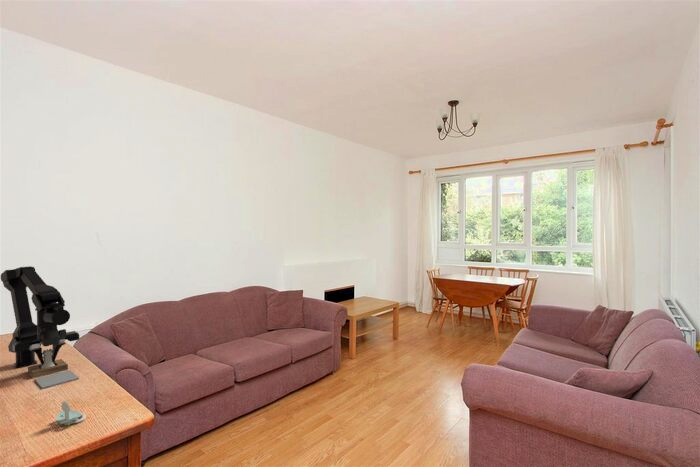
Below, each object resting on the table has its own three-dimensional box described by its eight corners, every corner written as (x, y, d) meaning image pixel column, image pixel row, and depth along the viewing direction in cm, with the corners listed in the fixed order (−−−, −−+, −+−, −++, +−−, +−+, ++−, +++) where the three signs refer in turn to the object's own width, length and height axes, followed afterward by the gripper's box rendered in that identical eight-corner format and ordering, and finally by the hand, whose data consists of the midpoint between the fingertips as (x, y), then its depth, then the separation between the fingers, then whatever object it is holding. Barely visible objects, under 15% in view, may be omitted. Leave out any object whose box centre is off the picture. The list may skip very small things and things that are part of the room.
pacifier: (80, 413, 100) (54, 422, 95) (81, 391, 100) (54, 398, 95) (89, 421, 95) (62, 430, 91) (90, 398, 96) (62, 406, 91)
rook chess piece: (46, 373, 130) (46, 352, 130) (37, 372, 131) (36, 351, 131) (58, 368, 134) (58, 348, 134) (49, 368, 135) (49, 347, 135)
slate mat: (34, 380, 124) (34, 378, 124) (70, 371, 131) (70, 370, 131) (42, 389, 116) (42, 387, 116) (79, 379, 124) (79, 377, 124)
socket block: (27, 371, 132) (27, 366, 132) (61, 363, 140) (61, 358, 140) (33, 378, 125) (33, 372, 125) (67, 369, 133) (67, 364, 133)
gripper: (17, 331, 120) (18, 376, 120) (83, 320, 135) (83, 360, 135) (11, 326, 127) (12, 369, 127) (75, 316, 142) (75, 354, 142)
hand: (47, 363), depth 133 cm, fingers open, 3 cm apart
